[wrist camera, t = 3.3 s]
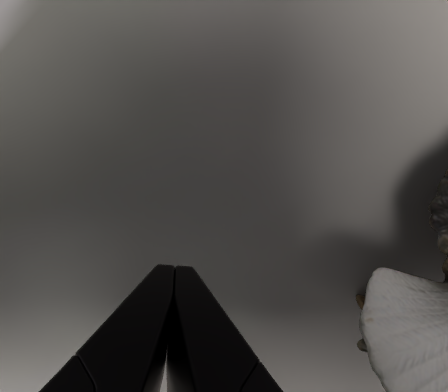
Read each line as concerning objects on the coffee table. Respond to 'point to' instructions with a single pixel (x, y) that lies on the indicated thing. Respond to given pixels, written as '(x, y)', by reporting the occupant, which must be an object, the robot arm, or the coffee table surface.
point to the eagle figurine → (409, 319)
